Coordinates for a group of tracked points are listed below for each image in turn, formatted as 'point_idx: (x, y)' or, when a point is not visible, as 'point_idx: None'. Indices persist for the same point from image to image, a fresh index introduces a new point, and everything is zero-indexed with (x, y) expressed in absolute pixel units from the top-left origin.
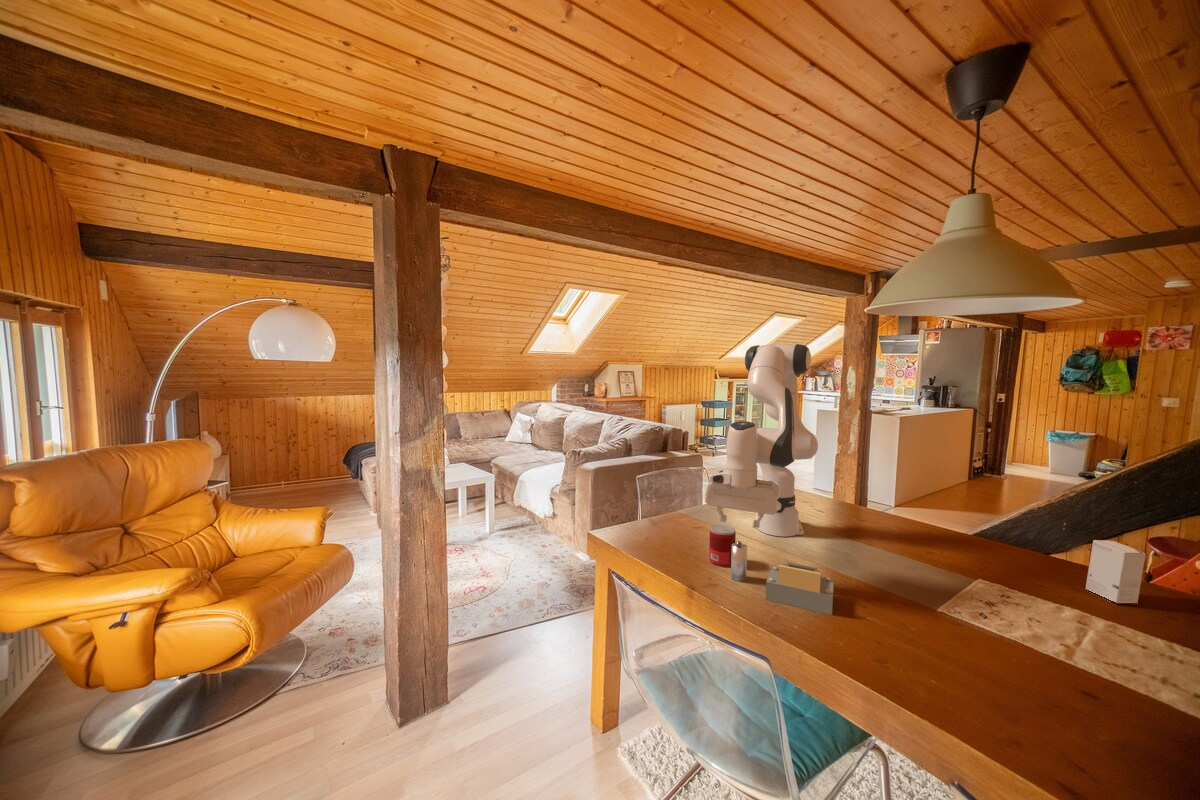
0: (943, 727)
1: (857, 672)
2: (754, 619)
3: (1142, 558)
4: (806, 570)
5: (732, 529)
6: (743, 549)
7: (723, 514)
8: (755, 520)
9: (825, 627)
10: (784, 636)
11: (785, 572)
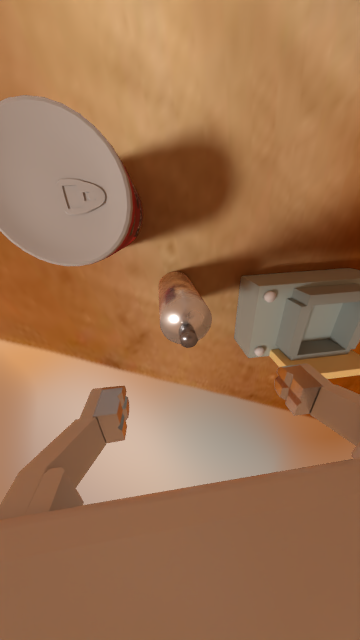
0: None
1: None
2: (223, 389)
3: None
4: (350, 371)
5: (104, 164)
6: (202, 335)
7: (94, 426)
8: (307, 398)
9: None
10: (257, 399)
11: None
